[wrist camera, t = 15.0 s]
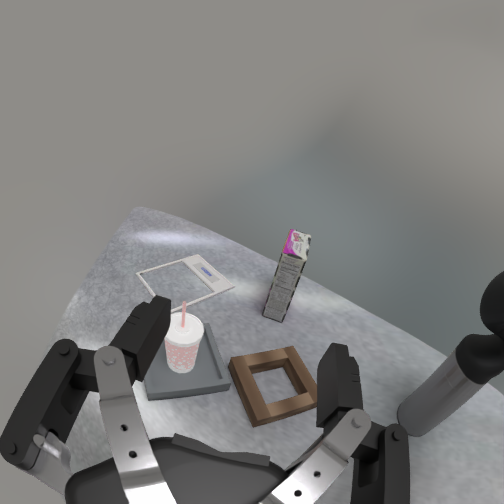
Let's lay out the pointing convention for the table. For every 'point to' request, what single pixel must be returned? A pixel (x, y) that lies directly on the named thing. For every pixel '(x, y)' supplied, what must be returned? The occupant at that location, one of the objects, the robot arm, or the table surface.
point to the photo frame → (201, 271)
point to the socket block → (251, 395)
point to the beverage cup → (183, 341)
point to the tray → (188, 373)
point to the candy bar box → (287, 275)
